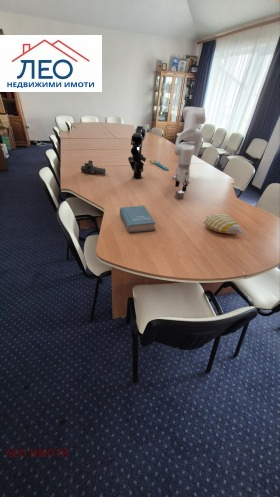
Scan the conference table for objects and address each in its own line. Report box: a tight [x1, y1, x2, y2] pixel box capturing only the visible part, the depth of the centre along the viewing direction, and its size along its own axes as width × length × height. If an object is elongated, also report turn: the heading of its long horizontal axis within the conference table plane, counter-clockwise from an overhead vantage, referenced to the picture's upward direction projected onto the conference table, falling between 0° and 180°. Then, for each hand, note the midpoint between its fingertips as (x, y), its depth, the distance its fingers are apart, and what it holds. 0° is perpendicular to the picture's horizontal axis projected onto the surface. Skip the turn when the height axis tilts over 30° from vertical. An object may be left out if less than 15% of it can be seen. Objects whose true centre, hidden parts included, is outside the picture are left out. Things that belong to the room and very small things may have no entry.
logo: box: [150, 160, 169, 171], centre depth 239 cm, size 34×10×1 cm, turn 16°
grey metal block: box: [174, 190, 185, 200], centre depth 170 cm, size 5×4×5 cm
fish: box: [203, 213, 245, 235], centre depth 133 cm, size 25×8×20 cm
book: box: [119, 205, 156, 233], centre depth 136 cm, size 23×16×5 cm
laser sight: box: [80, 160, 107, 176], centre depth 201 cm, size 10×22×10 cm, turn 78°
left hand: (135, 172), depth 182 cm, fingers open, 9 cm apart
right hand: (180, 189), depth 167 cm, fingers open, 9 cm apart
